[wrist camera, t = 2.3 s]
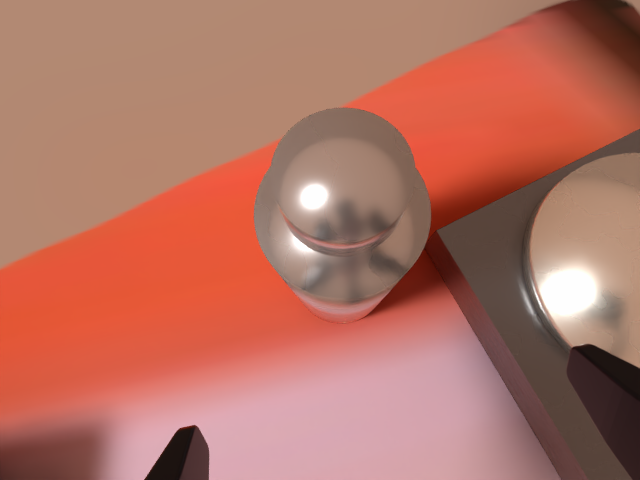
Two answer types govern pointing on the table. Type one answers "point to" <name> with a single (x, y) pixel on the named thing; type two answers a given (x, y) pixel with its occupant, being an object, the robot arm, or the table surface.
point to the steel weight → (342, 212)
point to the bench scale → (554, 291)
